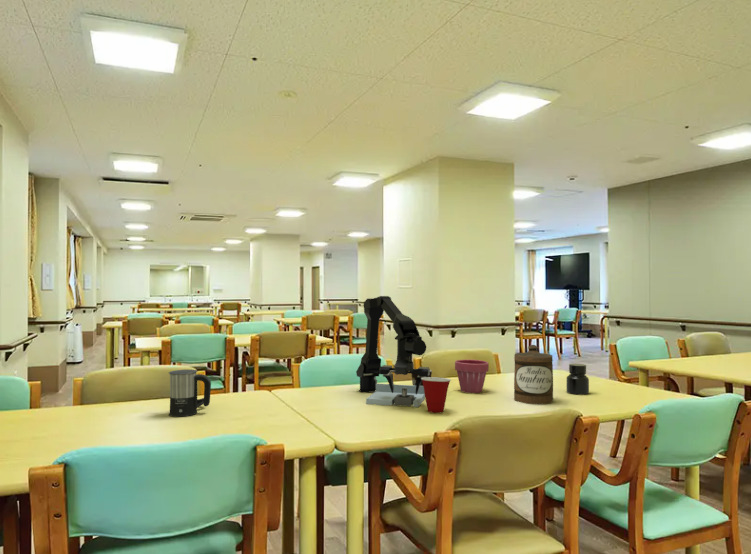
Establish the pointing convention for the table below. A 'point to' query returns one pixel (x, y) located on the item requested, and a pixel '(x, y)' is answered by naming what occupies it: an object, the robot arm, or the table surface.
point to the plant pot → (471, 374)
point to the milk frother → (187, 392)
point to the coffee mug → (414, 378)
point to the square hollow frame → (403, 400)
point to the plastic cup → (435, 393)
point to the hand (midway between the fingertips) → (404, 393)
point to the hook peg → (404, 392)
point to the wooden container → (533, 377)
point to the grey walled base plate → (387, 397)
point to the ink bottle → (577, 379)
